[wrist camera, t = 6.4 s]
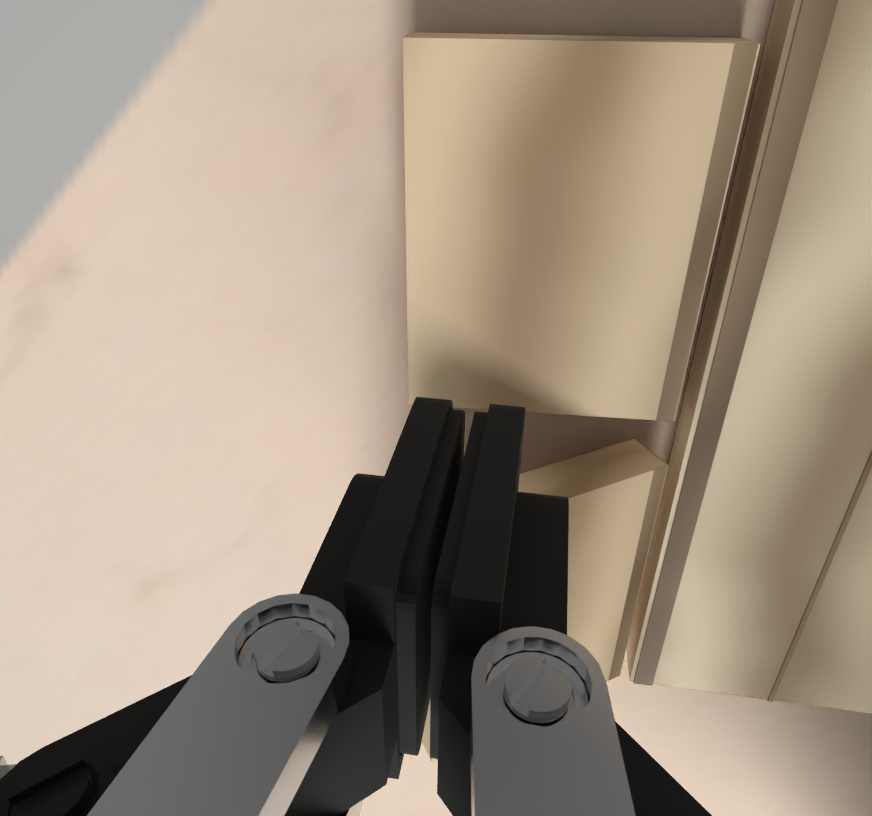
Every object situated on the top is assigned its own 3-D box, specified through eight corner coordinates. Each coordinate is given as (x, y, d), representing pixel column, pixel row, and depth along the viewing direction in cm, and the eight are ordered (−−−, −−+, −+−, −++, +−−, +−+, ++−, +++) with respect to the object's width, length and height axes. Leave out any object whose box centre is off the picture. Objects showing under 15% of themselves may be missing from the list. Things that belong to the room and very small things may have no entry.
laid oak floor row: (1268, -5, 15) (1341, -2, 14) (889, 681, 27) (907, 720, 26) (778, -11, 16) (797, -9, 15) (626, 647, 28) (629, 682, 27)
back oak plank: (634, 438, 23) (668, 465, 21) (594, 643, 28) (620, 675, 27) (409, 507, 20) (434, 544, 18) (412, 723, 25) (432, 762, 24)
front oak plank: (741, 37, 17) (760, 43, 15) (665, 394, 22) (675, 421, 21) (412, 32, 18) (402, 37, 16) (415, 379, 23) (408, 405, 21)
